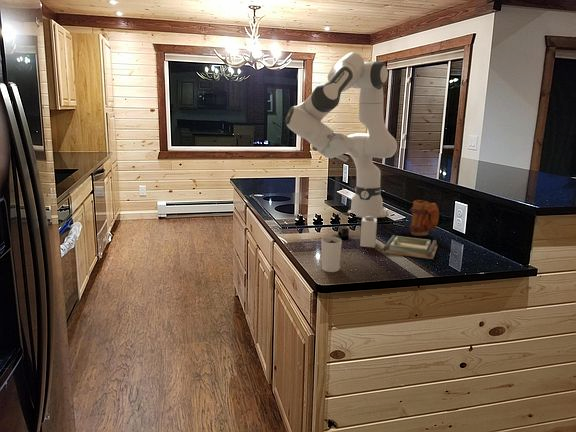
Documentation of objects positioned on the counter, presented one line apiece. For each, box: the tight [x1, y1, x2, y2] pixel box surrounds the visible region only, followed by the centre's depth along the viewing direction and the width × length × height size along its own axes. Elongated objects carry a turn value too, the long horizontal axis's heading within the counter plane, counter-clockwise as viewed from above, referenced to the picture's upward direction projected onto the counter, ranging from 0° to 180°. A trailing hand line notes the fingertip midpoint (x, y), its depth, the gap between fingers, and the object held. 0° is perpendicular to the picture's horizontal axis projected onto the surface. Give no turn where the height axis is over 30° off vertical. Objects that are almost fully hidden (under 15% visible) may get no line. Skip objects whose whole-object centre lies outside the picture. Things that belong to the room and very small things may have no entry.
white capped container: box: [359, 216, 378, 248], centre depth 179 cm, size 6×6×11 cm
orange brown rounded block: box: [408, 199, 440, 237], centre depth 189 cm, size 15×8×15 cm, turn 22°
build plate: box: [332, 225, 355, 242], centre depth 190 cm, size 12×7×5 cm, turn 17°
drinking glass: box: [320, 236, 343, 273], centre depth 153 cm, size 7×7×10 cm
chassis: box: [381, 234, 438, 260], centre depth 174 cm, size 17×18×3 cm
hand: (352, 158), depth 178 cm, fingers open, 8 cm apart
